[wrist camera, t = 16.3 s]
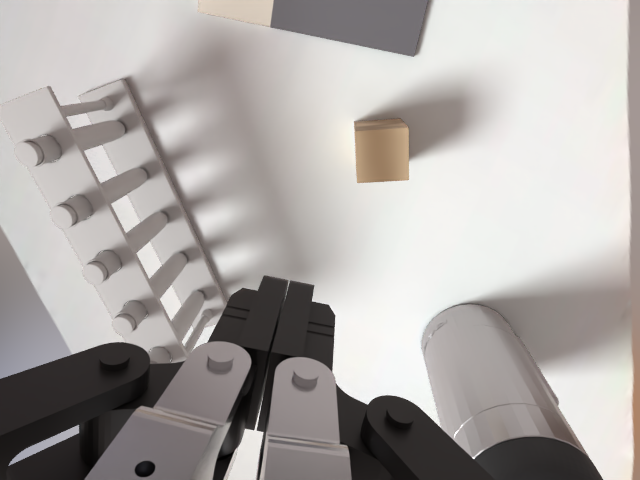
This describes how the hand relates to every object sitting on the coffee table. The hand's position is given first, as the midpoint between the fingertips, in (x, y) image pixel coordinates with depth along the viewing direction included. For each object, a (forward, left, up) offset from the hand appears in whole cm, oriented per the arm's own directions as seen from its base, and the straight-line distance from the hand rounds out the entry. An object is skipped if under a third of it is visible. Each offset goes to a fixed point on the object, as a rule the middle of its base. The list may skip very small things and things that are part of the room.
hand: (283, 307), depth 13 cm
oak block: (-4, -2, -29) cm, 29 cm away
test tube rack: (+11, +13, -29) cm, 34 cm away
